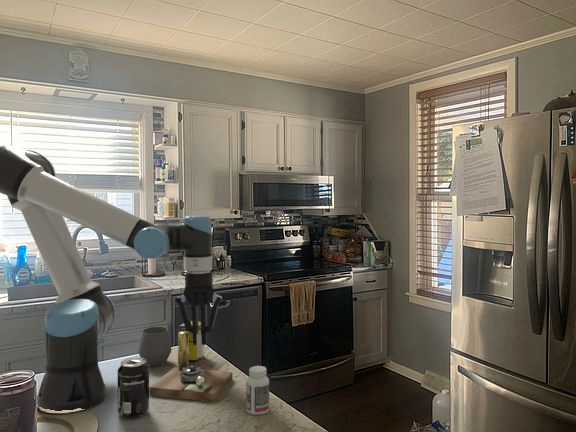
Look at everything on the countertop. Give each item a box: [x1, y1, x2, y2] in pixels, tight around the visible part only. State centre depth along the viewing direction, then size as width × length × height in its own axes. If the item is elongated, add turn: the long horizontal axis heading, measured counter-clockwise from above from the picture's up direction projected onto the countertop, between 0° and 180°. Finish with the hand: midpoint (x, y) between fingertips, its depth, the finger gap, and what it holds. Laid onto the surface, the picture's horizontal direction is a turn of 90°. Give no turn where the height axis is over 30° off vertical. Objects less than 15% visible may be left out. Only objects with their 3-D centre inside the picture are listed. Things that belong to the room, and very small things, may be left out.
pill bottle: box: [245, 365, 270, 416], centre depth 107 cm, size 5×5×10 cm
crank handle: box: [177, 331, 205, 387], centre depth 121 cm, size 18×6×10 cm, turn 28°
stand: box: [149, 366, 233, 403], centre depth 120 cm, size 17×14×2 cm
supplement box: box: [178, 320, 205, 363], centre depth 141 cm, size 6×6×11 cm
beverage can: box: [117, 357, 150, 420], centre depth 104 cm, size 7×7×12 cm
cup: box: [138, 326, 172, 367], centre depth 137 cm, size 10×9×10 cm
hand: (200, 356), depth 128 cm, fingers closed
